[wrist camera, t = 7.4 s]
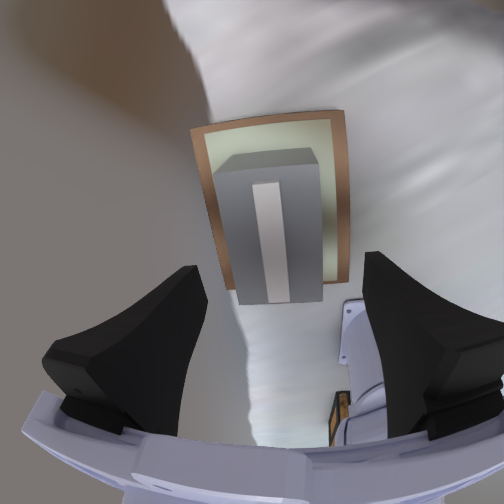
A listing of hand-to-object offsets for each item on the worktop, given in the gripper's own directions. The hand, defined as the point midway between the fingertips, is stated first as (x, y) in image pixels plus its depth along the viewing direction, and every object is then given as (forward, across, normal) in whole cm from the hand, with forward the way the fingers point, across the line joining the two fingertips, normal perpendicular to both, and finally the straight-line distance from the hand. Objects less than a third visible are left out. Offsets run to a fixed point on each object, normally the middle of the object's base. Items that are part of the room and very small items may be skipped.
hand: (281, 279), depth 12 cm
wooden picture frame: (+10, 0, 0) cm, 10 cm away
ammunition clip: (+11, -5, +32) cm, 34 cm away
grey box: (+8, 0, 0) cm, 8 cm away
